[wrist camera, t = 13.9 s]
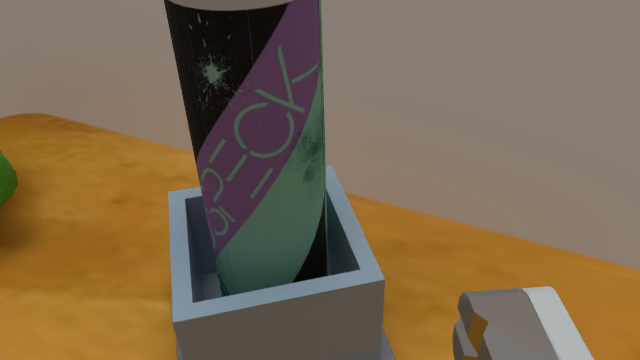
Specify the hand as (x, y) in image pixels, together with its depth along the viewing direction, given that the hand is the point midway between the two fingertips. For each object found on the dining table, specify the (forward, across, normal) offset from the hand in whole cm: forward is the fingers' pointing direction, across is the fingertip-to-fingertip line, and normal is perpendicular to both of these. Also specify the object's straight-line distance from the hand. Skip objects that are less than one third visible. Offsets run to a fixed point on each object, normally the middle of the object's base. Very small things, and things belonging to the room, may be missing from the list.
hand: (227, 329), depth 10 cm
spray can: (+13, 0, -15) cm, 20 cm away
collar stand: (+13, 0, -15) cm, 20 cm away
